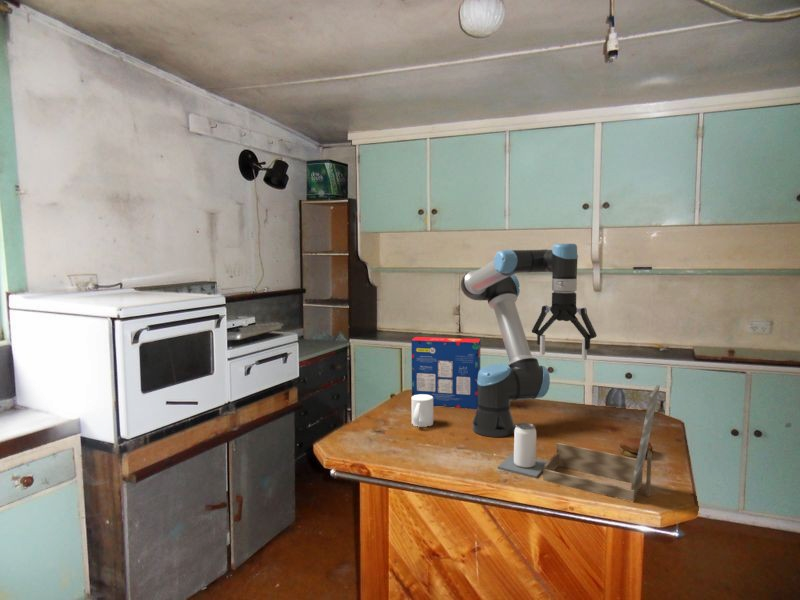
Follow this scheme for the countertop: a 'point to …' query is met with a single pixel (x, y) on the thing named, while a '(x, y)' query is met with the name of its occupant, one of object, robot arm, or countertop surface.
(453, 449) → the countertop surface
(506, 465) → the mat
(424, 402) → the mug
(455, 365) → the blue board game box
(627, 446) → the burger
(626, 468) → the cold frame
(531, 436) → the can
